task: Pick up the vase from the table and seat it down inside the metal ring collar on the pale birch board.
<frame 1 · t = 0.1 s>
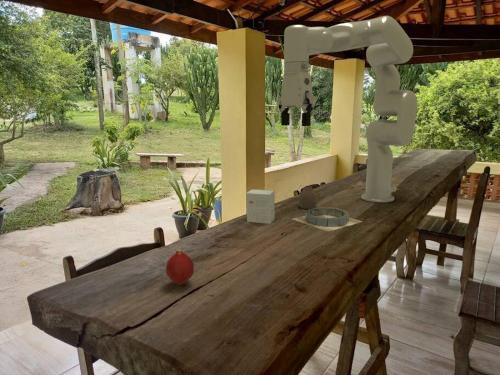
hand: (295, 125, 114), 31 cm above the table, tool pointing down, fingers open, 9 cm apart
birch board: (326, 222, 116), on the table
onion: (181, 285, 76), on the table
small box: (260, 223, 117), on the table
ring collar: (326, 220, 116), resting on birch board
vase: (307, 210, 132), on the table
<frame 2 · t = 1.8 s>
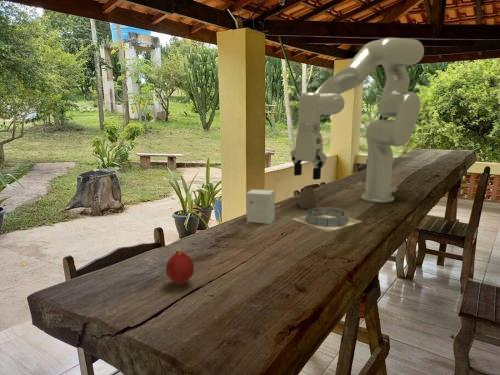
hand: (306, 177, 129), 12 cm above the table, tool pointing down, fingers open, 9 cm apart
nothing on the table moved.
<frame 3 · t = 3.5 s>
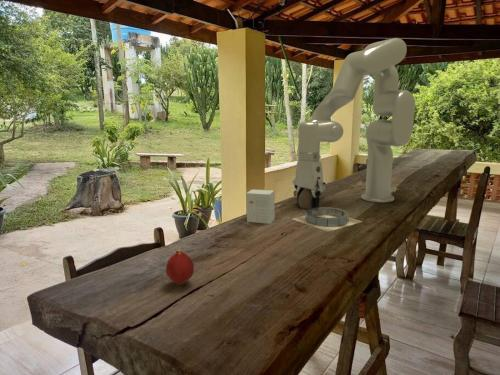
hand: (307, 204, 131), 2 cm above the table, tool pointing down, fingers closed on vase, 6 cm apart
vase: (307, 210, 132), on the table, touching gripper
everything else where it was.
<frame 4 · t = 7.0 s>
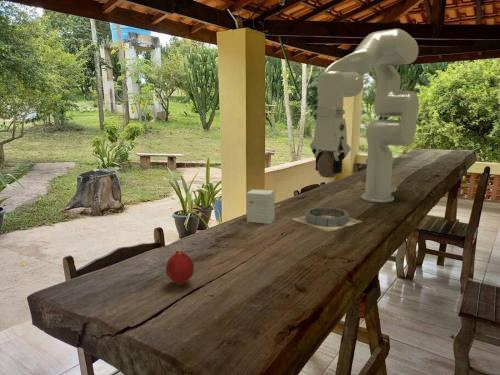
hand: (328, 171, 113), 17 cm above the table, tool pointing down, fingers closed on vase, 6 cm apart
vase: (328, 177, 113), point 15 cm above the table, touching gripper
everything else where it was.
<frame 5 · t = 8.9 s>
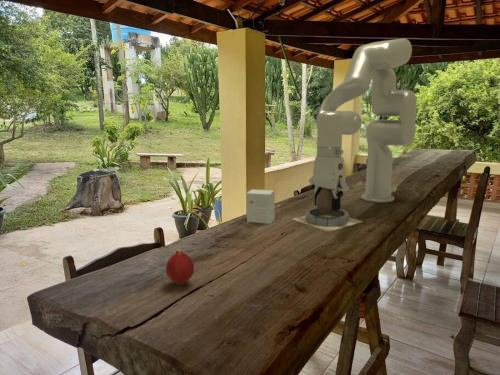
hand: (327, 207, 115), 5 cm above the table, tool pointing down, fingers closed on vase, 6 cm apart
vase: (326, 213, 115), point 3 cm above the table, touching gripper
everything else where it was.
when the fingers open (4 cm above the table, at t = 10.2 s): vase drops 1 cm, resting on birch board.
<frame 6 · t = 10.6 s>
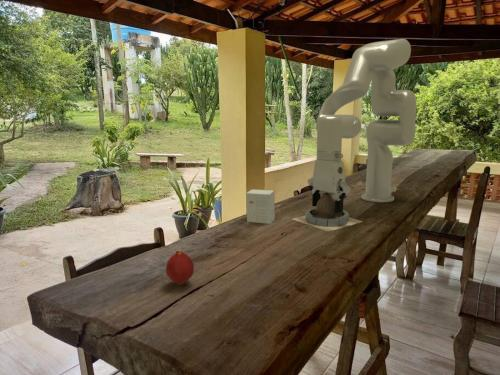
hand: (327, 208, 115), 5 cm above the table, tool pointing down, fingers open, 9 cm apart
vase: (326, 220, 116), point 1 cm above the table, touching birch board
everything else where it was.
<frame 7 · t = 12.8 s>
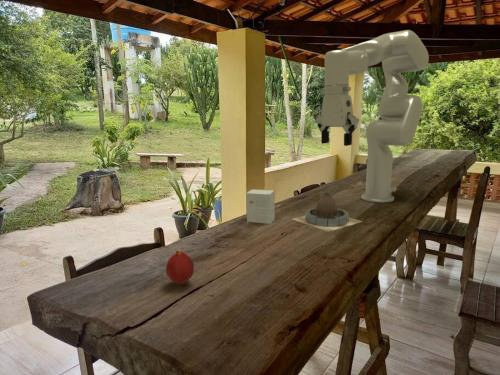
hand: (336, 144, 119), 25 cm above the table, tool pointing down, fingers open, 9 cm apart
nothing on the table moved.
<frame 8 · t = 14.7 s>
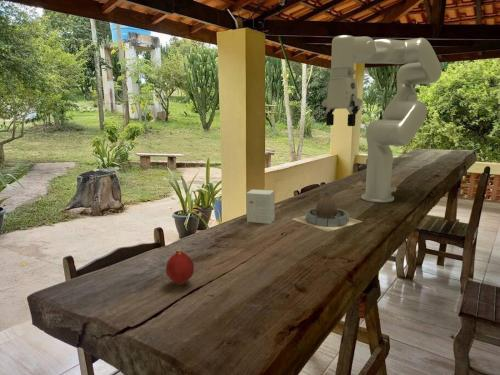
hand: (340, 125, 125), 30 cm above the table, tool pointing down, fingers open, 9 cm apart
nothing on the table moved.
at the end: vase 0.4 cm from the ring collar (horizontally); vase tilted 0°; the gripper is holding nothing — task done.
